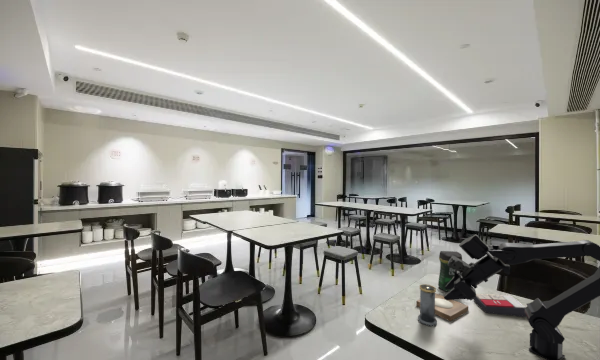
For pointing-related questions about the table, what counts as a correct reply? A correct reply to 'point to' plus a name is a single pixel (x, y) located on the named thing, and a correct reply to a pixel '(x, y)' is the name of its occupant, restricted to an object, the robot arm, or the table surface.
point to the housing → (427, 305)
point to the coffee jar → (446, 268)
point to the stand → (447, 308)
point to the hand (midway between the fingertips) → (445, 293)
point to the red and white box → (500, 304)
